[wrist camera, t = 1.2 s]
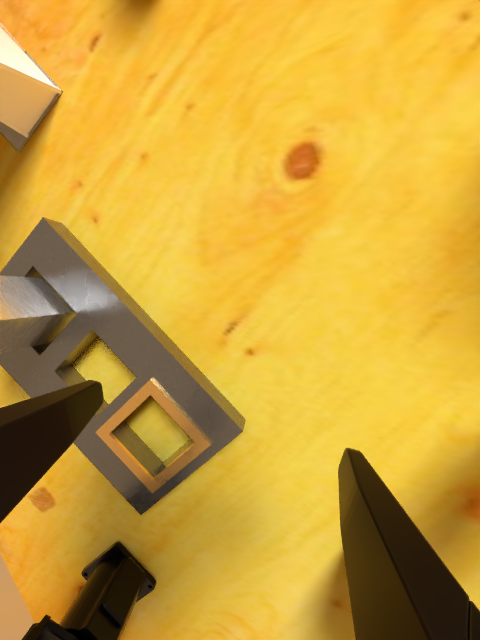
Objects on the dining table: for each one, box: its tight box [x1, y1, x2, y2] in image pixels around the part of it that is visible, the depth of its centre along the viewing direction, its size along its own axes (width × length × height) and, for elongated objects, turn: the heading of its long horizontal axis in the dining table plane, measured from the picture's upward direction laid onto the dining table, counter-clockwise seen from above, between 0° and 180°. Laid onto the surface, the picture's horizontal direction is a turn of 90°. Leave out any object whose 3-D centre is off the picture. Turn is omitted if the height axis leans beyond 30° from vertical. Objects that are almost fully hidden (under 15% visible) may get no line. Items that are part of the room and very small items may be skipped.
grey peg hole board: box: [0, 217, 245, 515], centre depth 23 cm, size 14×26×2 cm, turn 44°
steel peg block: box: [0, 276, 77, 354], centre depth 20 cm, size 4×4×10 cm
